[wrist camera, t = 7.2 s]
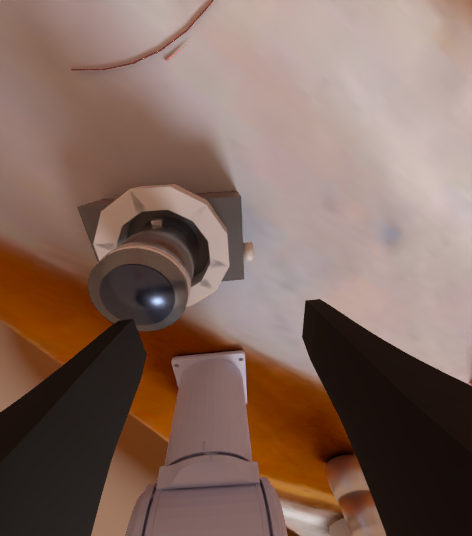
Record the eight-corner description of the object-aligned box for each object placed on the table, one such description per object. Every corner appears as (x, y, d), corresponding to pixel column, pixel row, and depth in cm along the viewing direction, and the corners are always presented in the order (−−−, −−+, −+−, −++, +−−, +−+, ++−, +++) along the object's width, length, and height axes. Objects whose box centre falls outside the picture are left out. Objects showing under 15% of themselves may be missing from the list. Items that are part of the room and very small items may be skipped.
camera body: (249, 271, 19) (257, 300, 15) (128, 281, 19) (103, 313, 14) (247, 176, 15) (257, 181, 11) (97, 185, 15) (52, 193, 11)
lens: (202, 270, 15) (194, 330, 10) (145, 275, 15) (104, 338, 10) (194, 212, 13) (178, 246, 8) (129, 217, 13) (66, 255, 8)
